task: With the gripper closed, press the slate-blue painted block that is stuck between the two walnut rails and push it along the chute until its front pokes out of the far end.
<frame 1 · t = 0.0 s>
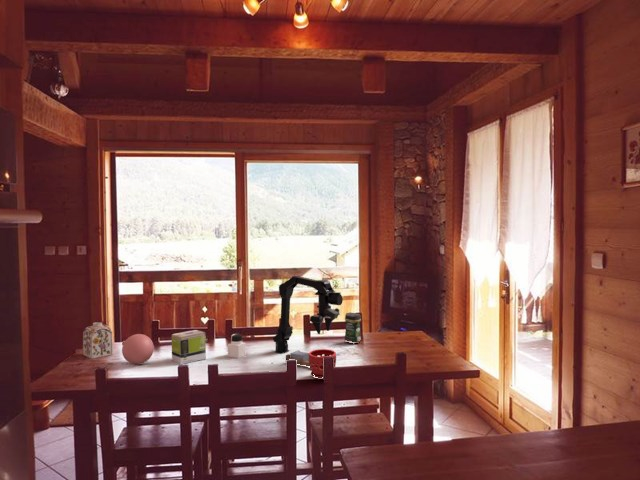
hand: (323, 332, 259), 15 cm above the table, fingers open, 9 cm apart
chute: (305, 363, 251), on the table
coffee jar: (352, 343, 297), on the table
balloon: (135, 363, 251), on the table
tea box: (188, 360, 257), on the table
decorative jar: (97, 355, 266), on the table
block: (299, 357, 254), point 2 cm above the table, slide at 0.0 cm
plant pot: (322, 377, 230), on the table
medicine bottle: (236, 356, 265), on the table
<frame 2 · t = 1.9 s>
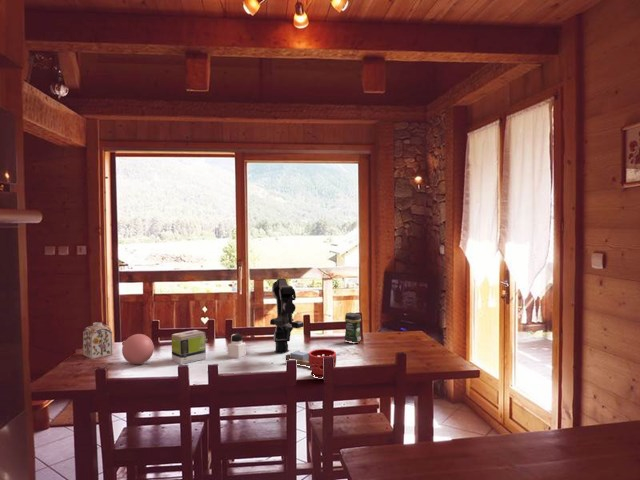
hand: (286, 338, 258), 11 cm above the table, fingers closed
nothing on the table moved.
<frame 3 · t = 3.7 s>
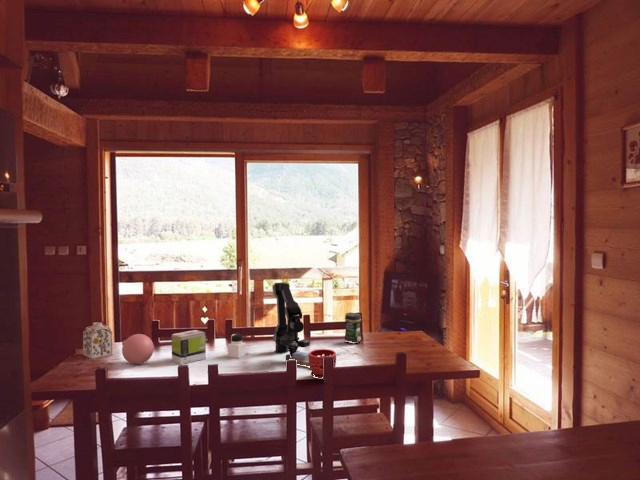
hand: (292, 357, 256), 2 cm above the table, fingers closed
block: (301, 358, 253), point 2 cm above the table, slide at 1.3 cm, touching gripper
everything else where it was.
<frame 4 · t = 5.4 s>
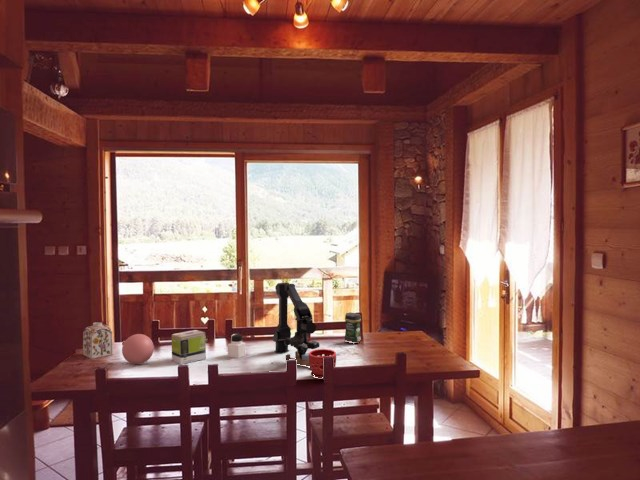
hand: (301, 359, 253), 2 cm above the table, fingers closed
block: (311, 359, 250), point 3 cm above the table, slide at 7.4 cm, touching gripper
everything else where it was.
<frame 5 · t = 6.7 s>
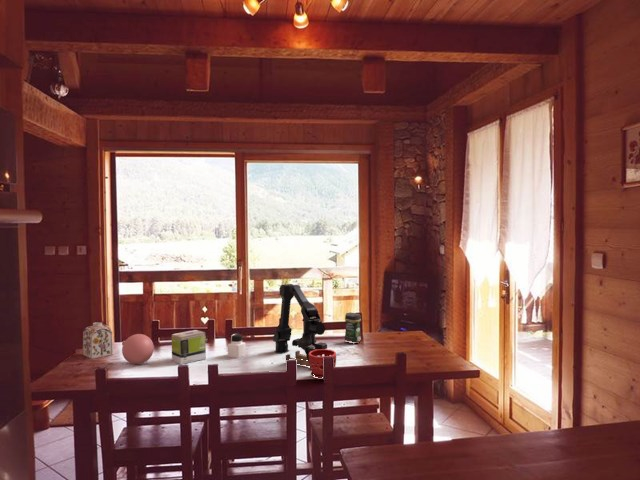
hand: (309, 360, 250), 2 cm above the table, fingers closed
block: (318, 361, 247), point 2 cm above the table, slide at 12.0 cm, touching gripper
everything else where it was.
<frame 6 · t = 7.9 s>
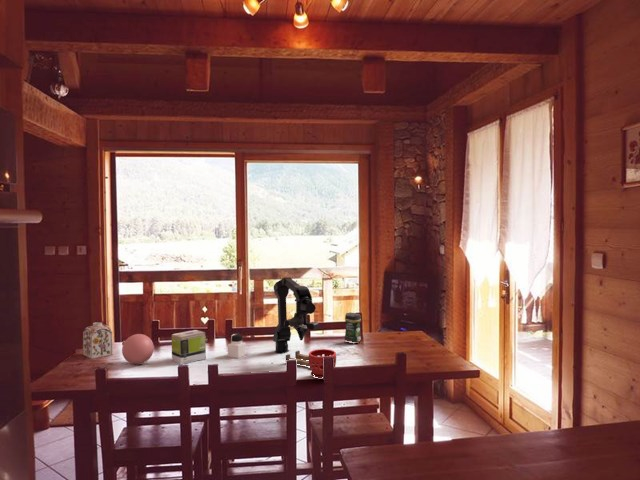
hand: (301, 340, 253), 12 cm above the table, fingers closed
block: (318, 361, 247), point 2 cm above the table, slide at 12.0 cm
everything else where it was.
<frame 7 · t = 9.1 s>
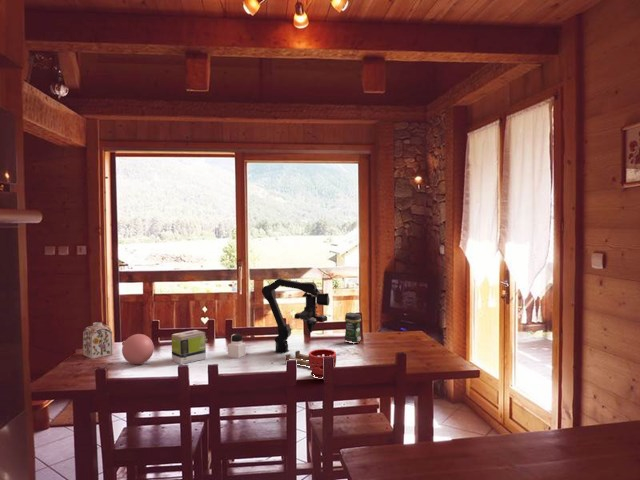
hand: (310, 332, 271), 12 cm above the table, fingers closed
nothing on the table moved.
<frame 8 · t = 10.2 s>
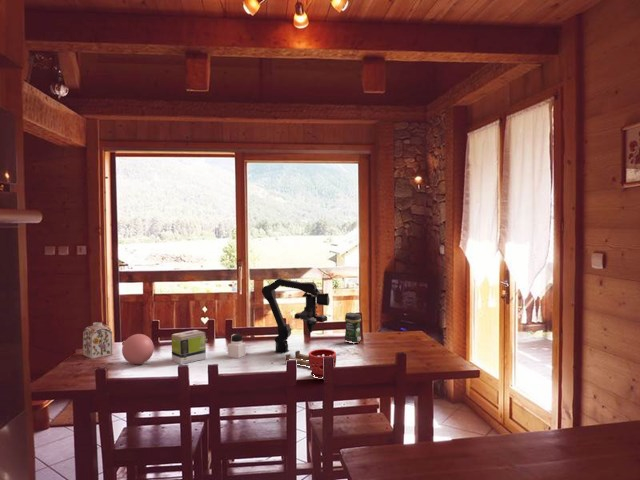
hand: (310, 332, 271), 12 cm above the table, fingers closed
nothing on the table moved.
at the end: block slide at 12.0 cm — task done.
